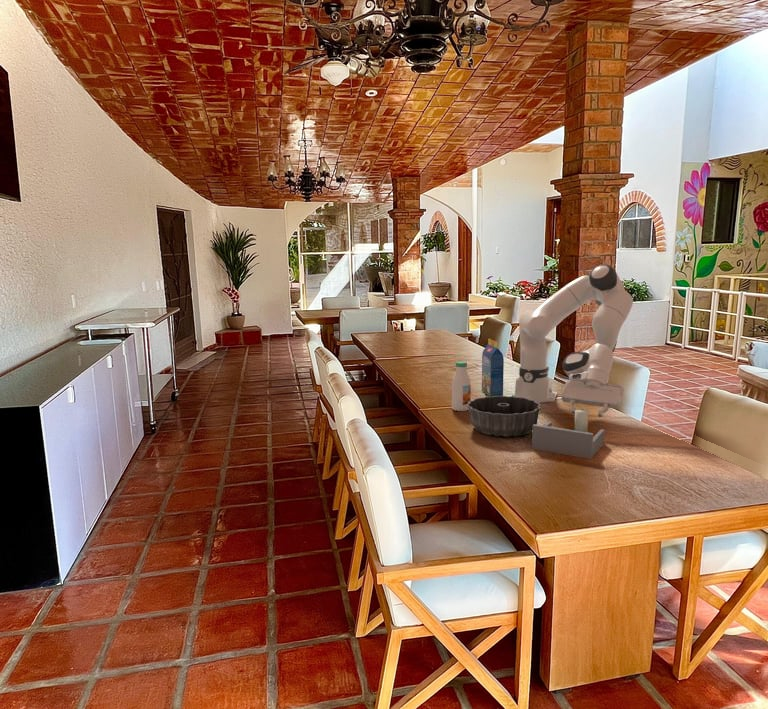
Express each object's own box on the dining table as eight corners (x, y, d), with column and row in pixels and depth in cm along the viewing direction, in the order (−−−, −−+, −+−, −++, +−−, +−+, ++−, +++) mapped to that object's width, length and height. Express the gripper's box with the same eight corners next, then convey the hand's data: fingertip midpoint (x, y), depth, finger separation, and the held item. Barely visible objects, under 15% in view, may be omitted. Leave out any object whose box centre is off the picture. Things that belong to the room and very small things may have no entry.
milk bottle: (456, 412, 231) (456, 364, 227) (449, 407, 238) (449, 361, 234) (473, 410, 233) (473, 363, 229) (465, 405, 240) (466, 359, 236)
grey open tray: (547, 434, 200) (548, 413, 199) (603, 444, 190) (604, 421, 188) (532, 448, 187) (532, 425, 185) (591, 459, 176) (592, 434, 175)
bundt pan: (451, 429, 208) (451, 403, 207) (497, 415, 225) (497, 391, 223) (509, 447, 188) (510, 418, 187) (554, 430, 205) (555, 404, 203)
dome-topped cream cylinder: (576, 431, 204) (577, 408, 202) (588, 433, 201) (589, 410, 200) (572, 434, 200) (573, 411, 198) (585, 436, 197) (586, 413, 196)
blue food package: (490, 397, 253) (490, 342, 248) (481, 391, 264) (481, 338, 260) (503, 396, 254) (504, 342, 249) (494, 390, 265) (495, 338, 261)
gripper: (625, 390, 203) (618, 423, 196) (568, 384, 214) (559, 414, 207) (624, 380, 198) (616, 413, 192) (565, 374, 209) (556, 405, 203)
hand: (586, 414), depth 200 cm, fingers open, 8 cm apart
